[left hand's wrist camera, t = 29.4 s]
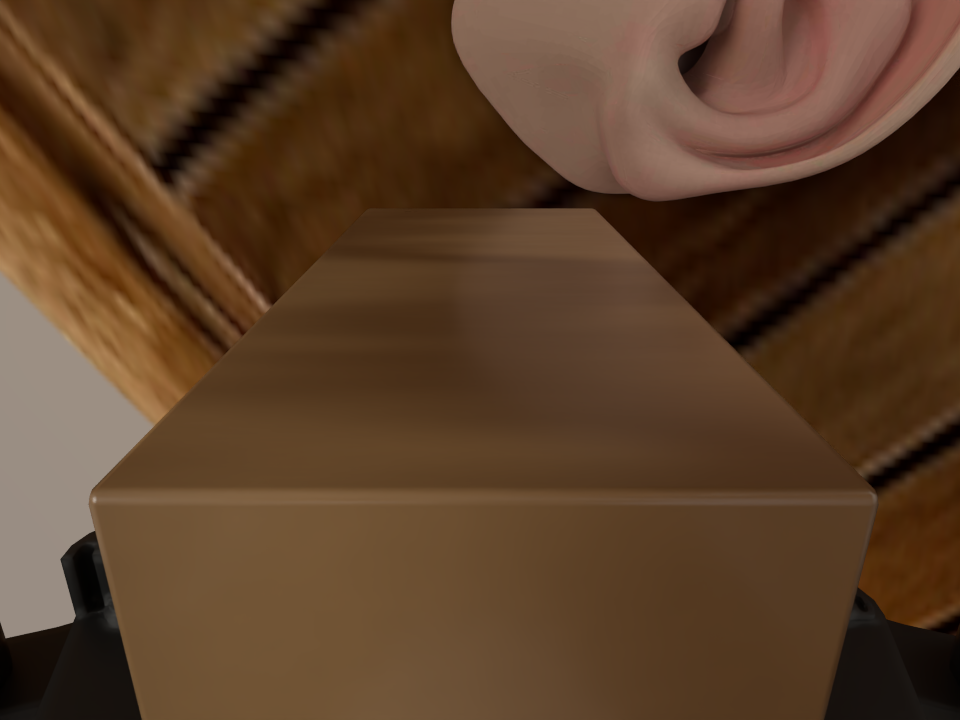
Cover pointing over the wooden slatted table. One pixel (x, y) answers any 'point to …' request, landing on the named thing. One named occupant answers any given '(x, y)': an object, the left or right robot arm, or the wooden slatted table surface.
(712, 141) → the anatomical model
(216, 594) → the brick
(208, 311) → the wooden slatted table surface
